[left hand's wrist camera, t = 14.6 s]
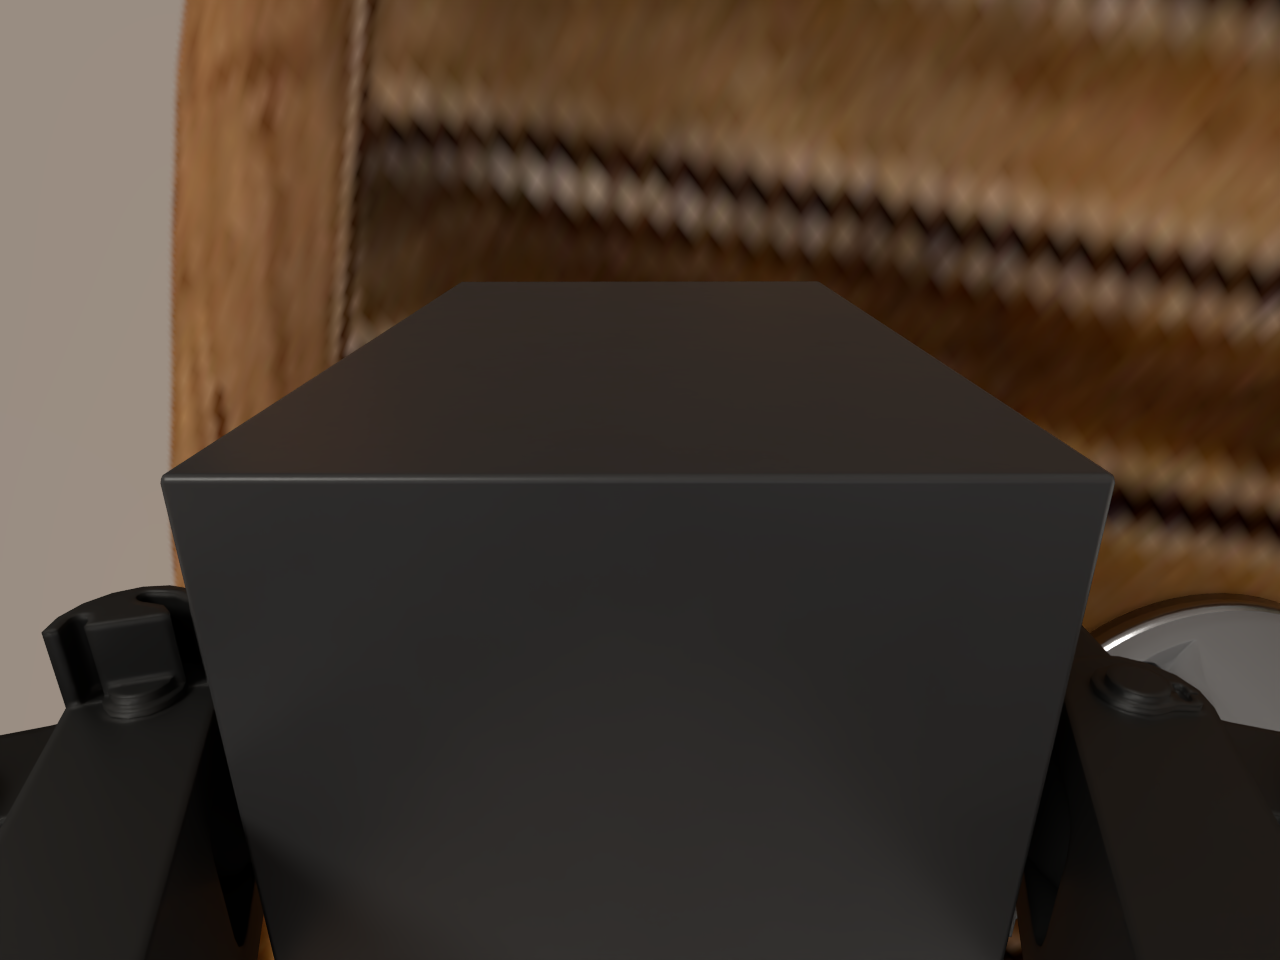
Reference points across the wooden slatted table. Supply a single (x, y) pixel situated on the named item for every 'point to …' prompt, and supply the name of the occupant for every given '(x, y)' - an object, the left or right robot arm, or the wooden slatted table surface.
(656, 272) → the wooden slatted table surface
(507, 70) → the wooden slatted table surface
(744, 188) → the wooden slatted table surface
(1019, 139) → the wooden slatted table surface
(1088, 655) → the left robot arm
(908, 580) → the box
